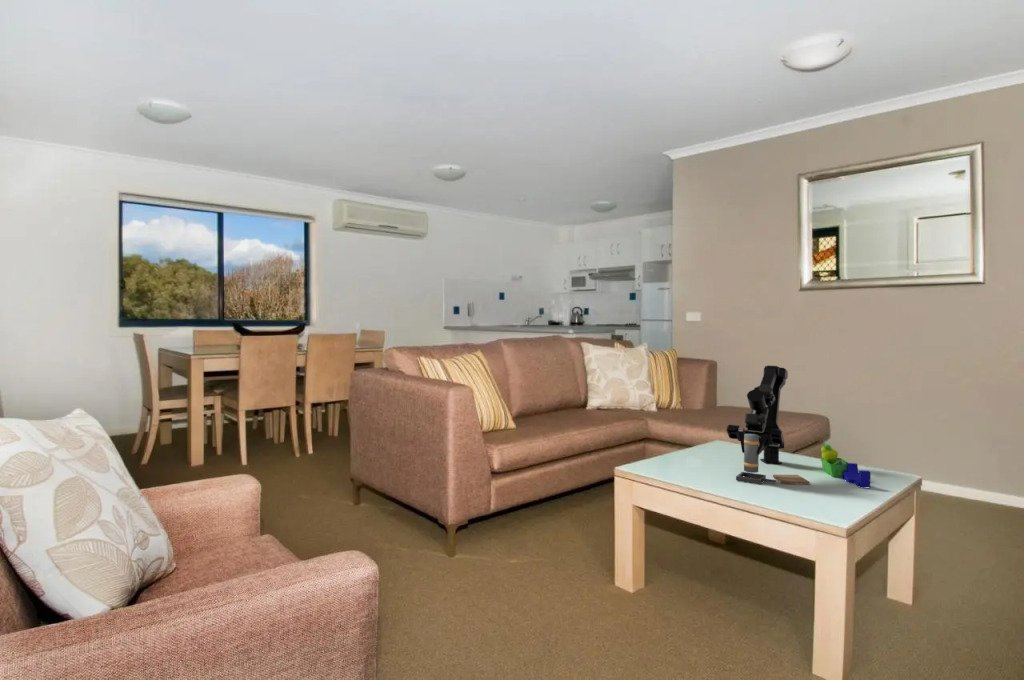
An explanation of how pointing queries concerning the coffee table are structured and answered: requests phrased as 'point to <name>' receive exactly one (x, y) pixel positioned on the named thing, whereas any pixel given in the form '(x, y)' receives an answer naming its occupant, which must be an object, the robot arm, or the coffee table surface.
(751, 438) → the orange-banded grey cylinder
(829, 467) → the fruit basket
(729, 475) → the coffee table surface
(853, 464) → the cable clip
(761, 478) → the collar
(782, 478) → the walnut pad
